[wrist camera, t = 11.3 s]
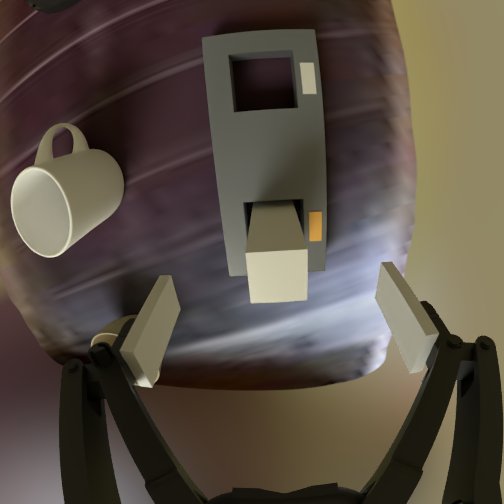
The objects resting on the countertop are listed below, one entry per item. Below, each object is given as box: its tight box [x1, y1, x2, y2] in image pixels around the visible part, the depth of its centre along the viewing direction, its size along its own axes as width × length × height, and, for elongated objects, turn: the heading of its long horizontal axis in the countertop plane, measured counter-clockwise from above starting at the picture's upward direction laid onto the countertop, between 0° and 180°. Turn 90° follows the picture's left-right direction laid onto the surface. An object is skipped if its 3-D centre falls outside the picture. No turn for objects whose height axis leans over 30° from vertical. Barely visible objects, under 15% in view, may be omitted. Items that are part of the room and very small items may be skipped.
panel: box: [202, 29, 327, 276], centre depth 25 cm, size 24×10×3 cm, turn 5°
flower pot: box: [91, 315, 161, 385], centre depth 35 cm, size 10×10×7 cm
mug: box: [11, 123, 124, 257], centre depth 23 cm, size 9×12×11 cm
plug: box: [245, 199, 308, 303], centre depth 24 cm, size 5×4×12 cm
